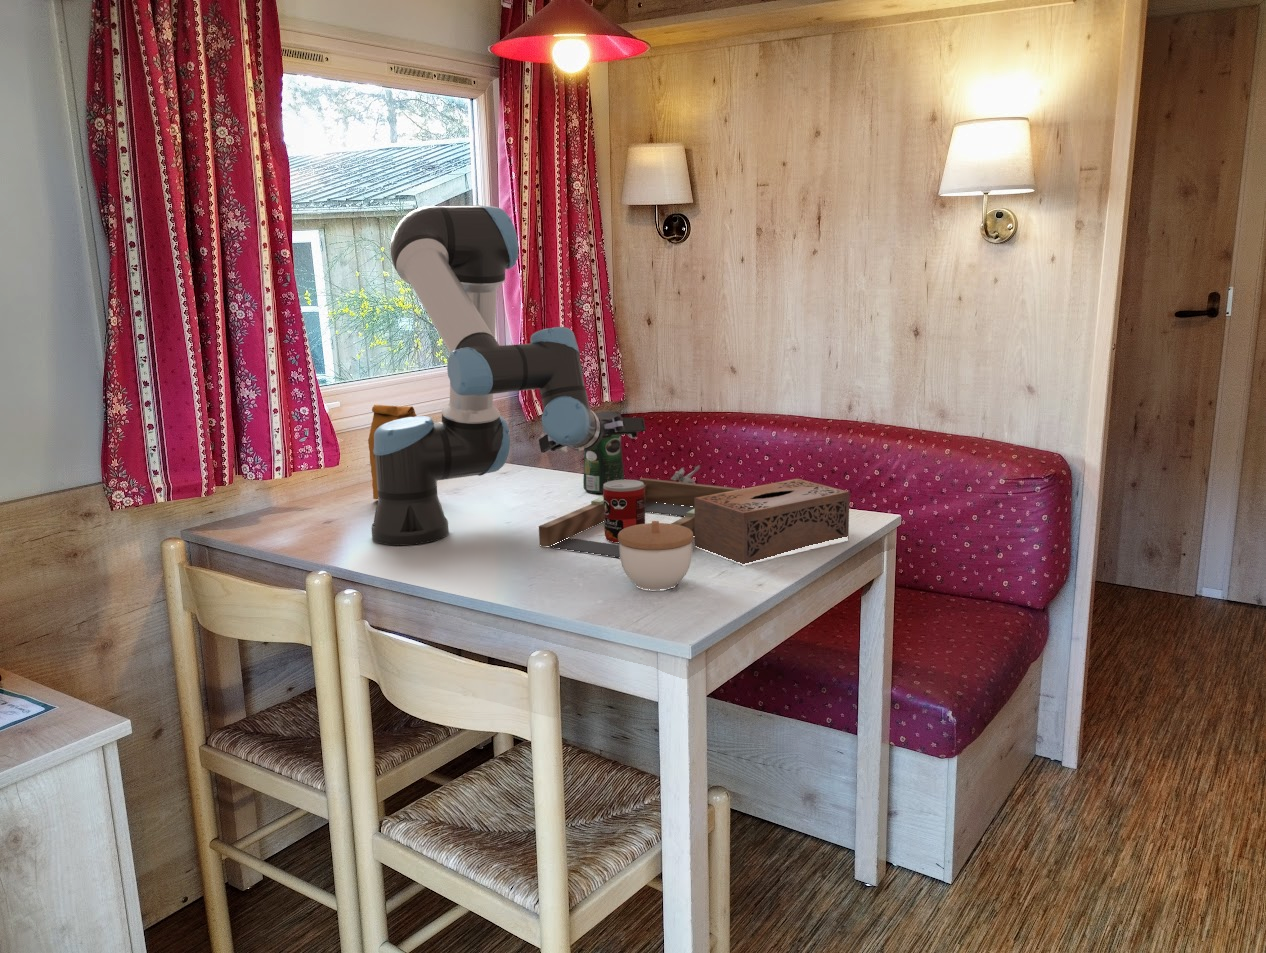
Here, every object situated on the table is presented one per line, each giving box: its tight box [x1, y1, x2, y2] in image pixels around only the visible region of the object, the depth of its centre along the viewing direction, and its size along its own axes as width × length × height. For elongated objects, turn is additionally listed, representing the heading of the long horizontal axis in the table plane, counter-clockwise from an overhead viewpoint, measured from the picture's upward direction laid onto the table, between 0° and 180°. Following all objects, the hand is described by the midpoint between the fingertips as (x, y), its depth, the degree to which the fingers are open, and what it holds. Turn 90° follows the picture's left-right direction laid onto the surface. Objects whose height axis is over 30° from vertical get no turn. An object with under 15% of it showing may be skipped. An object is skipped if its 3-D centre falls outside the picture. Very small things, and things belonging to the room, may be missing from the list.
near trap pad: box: [549, 537, 620, 557], centre depth 197 cm, size 6×19×1 cm, turn 60°
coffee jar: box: [582, 410, 626, 494], centre depth 242 cm, size 10×8×19 cm
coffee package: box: [367, 404, 418, 500], centre depth 236 cm, size 10×12×22 cm
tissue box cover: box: [694, 478, 851, 564], centre depth 197 cm, size 26×14×10 cm, turn 123°
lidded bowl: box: [618, 520, 694, 590], centre depth 175 cm, size 13×13×11 cm
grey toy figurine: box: [670, 464, 701, 484], centre depth 236 cm, size 10×6×9 cm
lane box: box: [538, 477, 742, 547], centre depth 211 cm, size 40×24×5 cm, turn 150°
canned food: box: [602, 479, 646, 543], centre depth 203 cm, size 8×8×11 cm
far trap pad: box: [645, 502, 695, 517], centre depth 223 cm, size 8×19×1 cm, turn 60°
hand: (598, 438), depth 203 cm, fingers open, 13 cm apart
